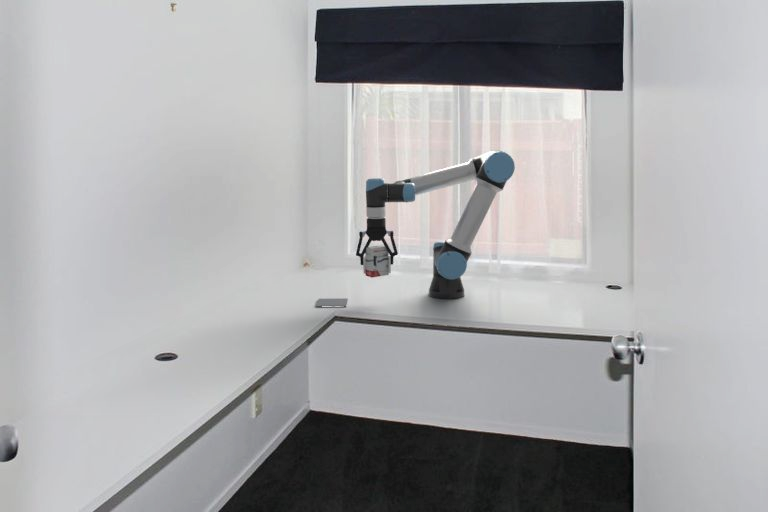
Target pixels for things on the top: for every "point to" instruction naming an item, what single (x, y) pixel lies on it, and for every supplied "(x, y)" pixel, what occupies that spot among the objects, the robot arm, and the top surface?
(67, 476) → the top surface
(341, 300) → the slate coaster
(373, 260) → the ink box
